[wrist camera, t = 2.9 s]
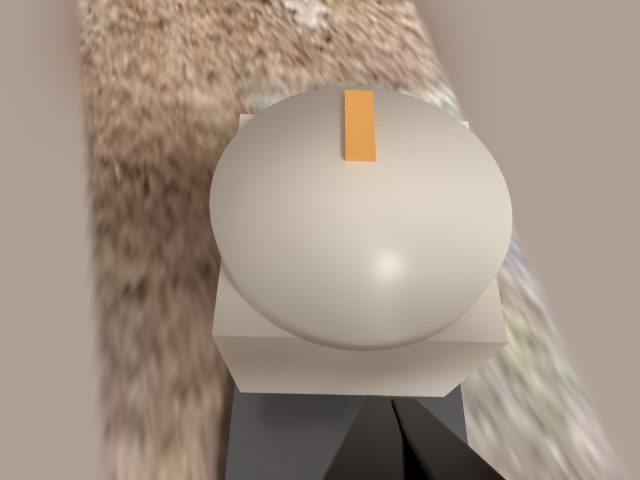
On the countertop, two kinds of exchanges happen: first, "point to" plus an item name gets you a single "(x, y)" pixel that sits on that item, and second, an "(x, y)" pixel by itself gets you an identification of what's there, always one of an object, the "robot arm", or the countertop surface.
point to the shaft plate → (305, 431)
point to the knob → (357, 247)
